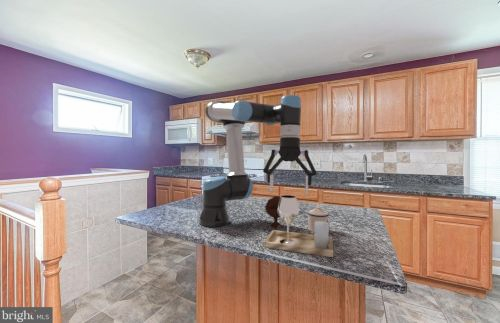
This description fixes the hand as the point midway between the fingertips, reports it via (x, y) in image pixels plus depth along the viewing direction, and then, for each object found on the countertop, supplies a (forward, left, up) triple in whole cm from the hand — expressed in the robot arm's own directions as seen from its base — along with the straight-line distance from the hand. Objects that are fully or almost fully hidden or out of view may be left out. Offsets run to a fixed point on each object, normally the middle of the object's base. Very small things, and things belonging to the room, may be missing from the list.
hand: (288, 192), depth 86 cm
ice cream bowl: (-10, +22, -21) cm, 32 cm away
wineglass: (0, 0, -20) cm, 20 cm away
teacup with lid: (+10, +21, -21) cm, 32 cm away
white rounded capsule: (+12, 0, -20) cm, 23 cm away
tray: (+4, 0, -21) cm, 21 cm away
